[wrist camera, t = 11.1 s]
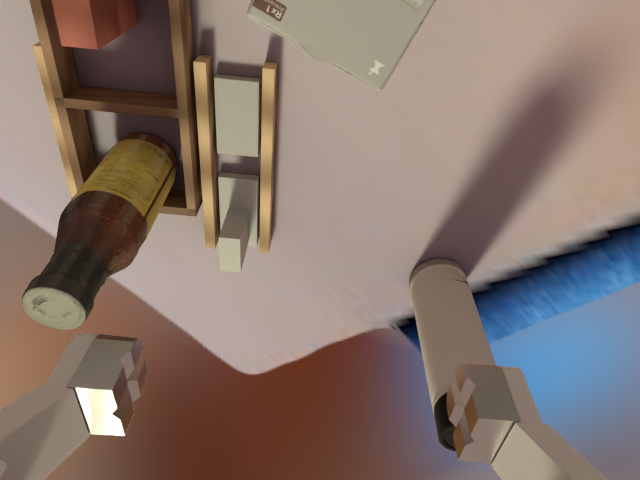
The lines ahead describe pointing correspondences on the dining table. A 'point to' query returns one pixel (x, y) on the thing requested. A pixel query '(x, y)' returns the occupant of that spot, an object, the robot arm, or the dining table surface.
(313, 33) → the skincare box
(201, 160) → the oak lane rails
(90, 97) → the wooden condiment caddy
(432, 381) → the travel mug
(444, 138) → the dining table surface
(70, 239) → the sauce bottle
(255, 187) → the broken grey strip
